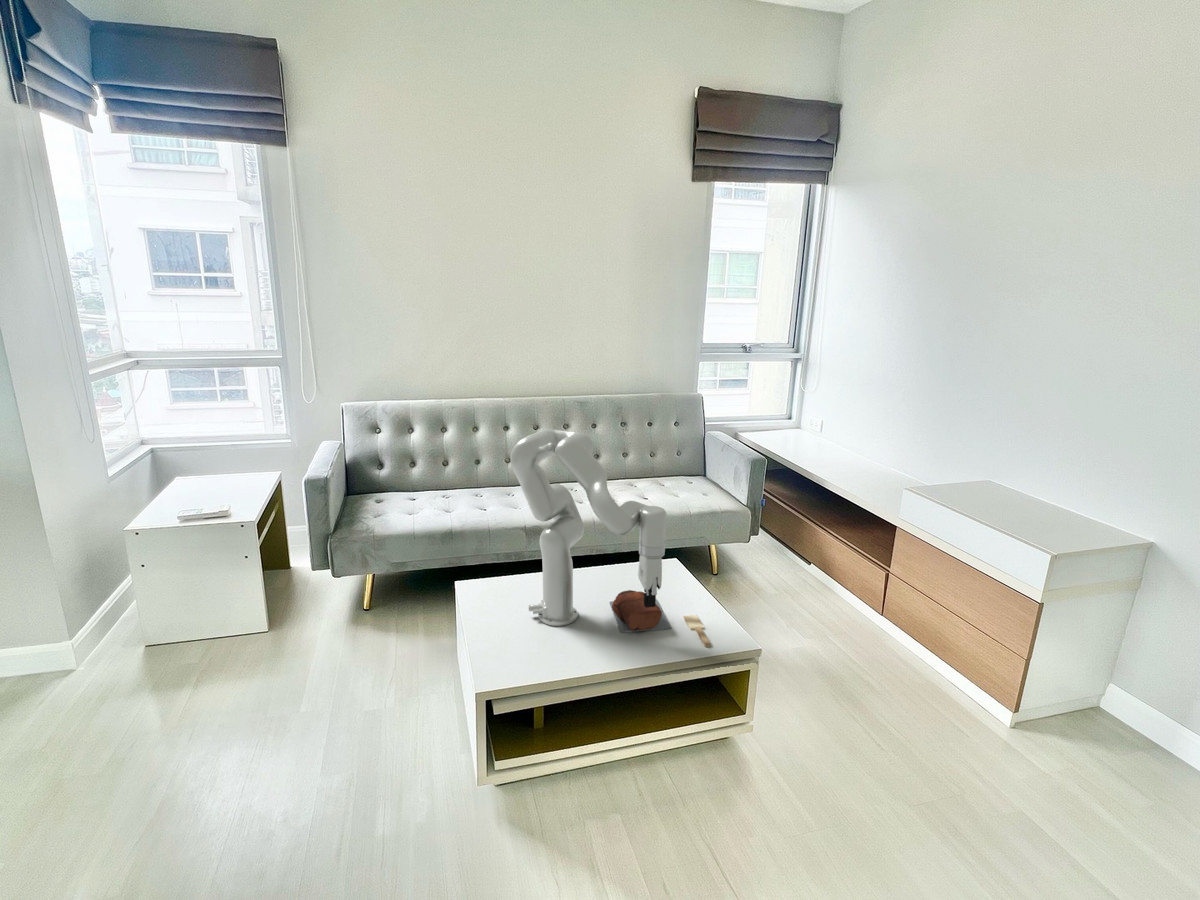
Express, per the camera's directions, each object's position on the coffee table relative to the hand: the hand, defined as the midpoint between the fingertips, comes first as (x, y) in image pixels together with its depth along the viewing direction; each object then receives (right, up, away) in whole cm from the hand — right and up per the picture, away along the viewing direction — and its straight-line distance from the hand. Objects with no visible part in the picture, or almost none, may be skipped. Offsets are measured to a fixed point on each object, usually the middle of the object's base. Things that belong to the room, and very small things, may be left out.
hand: (649, 605), depth 184 cm
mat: (-2, -7, +15) cm, 17 cm away
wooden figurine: (-1, -6, +4) cm, 7 cm away
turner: (+15, -9, +7) cm, 19 cm away
